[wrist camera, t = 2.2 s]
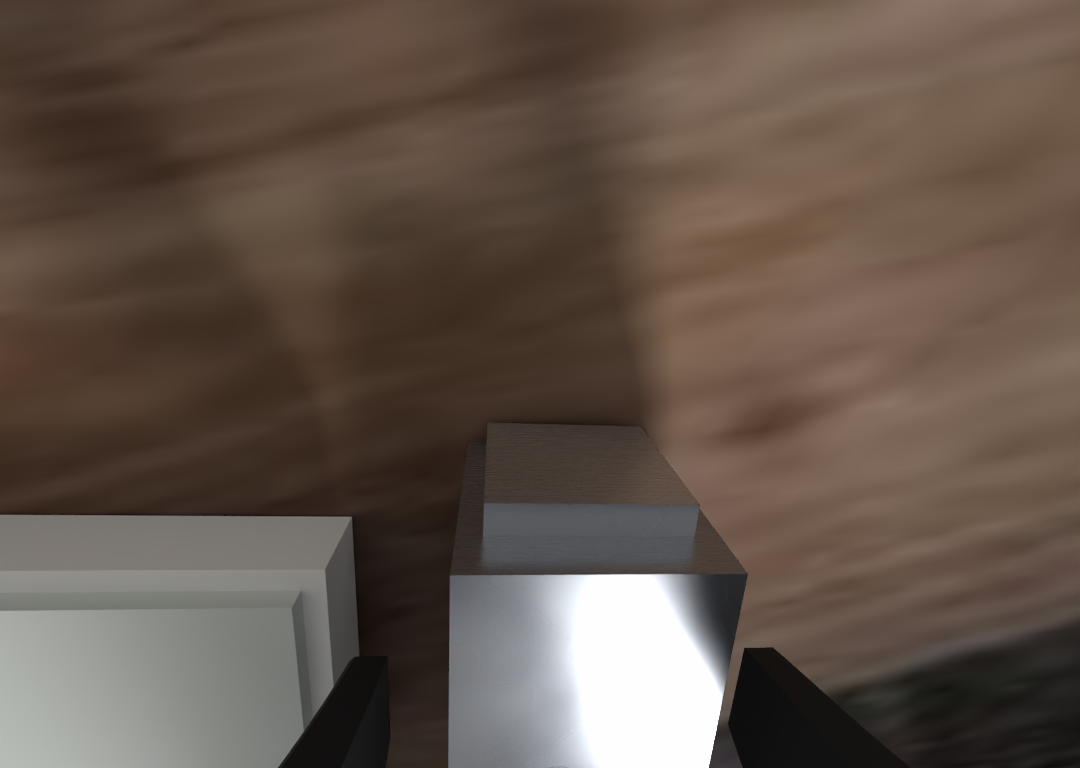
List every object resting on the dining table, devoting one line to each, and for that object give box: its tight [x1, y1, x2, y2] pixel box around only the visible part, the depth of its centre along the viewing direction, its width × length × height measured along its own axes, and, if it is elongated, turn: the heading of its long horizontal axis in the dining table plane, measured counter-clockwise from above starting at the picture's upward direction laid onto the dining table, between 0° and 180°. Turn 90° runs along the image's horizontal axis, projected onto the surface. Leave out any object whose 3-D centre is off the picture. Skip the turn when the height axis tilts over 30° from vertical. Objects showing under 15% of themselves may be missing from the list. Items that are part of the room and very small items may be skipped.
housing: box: [448, 423, 748, 768], centre depth 11 cm, size 9×4×5 cm, turn 176°
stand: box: [0, 515, 359, 768], centre depth 12 cm, size 12×12×2 cm
